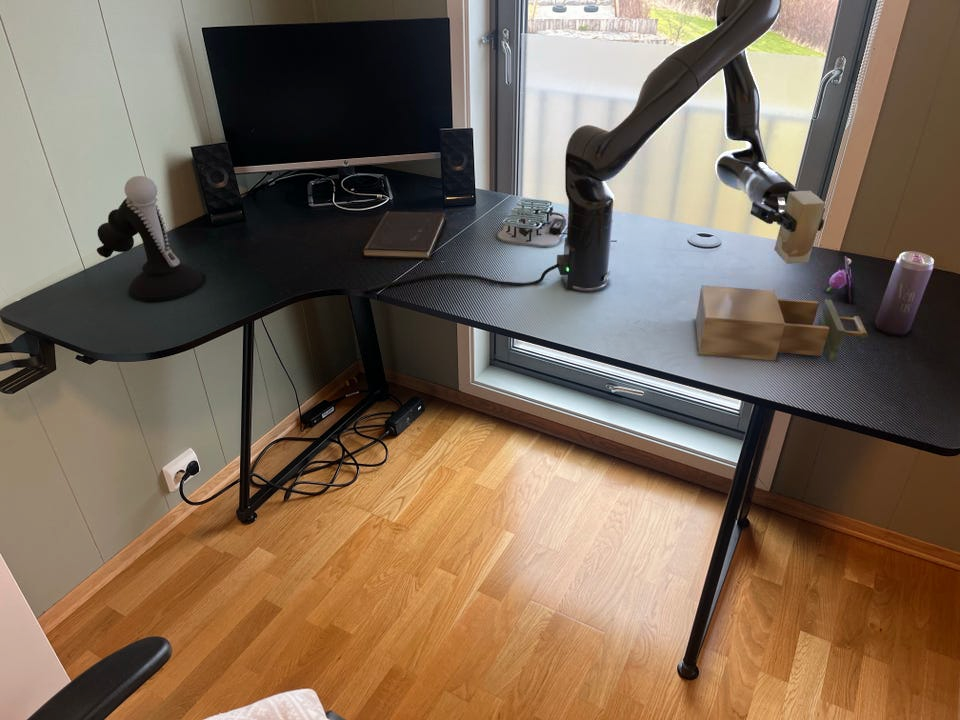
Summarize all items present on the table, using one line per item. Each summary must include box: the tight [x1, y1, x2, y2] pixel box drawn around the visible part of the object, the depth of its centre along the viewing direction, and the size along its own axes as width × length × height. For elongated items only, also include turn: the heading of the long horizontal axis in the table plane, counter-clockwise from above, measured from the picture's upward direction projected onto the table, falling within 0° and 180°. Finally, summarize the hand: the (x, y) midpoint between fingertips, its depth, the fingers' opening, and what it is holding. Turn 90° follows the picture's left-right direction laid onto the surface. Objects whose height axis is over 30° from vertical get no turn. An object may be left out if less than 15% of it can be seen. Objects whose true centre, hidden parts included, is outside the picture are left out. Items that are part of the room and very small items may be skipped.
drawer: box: [777, 297, 869, 361], centre depth 128 cm, size 17×11×6 cm, turn 79°
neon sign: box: [497, 198, 618, 248], centre depth 175 cm, size 21×4×29 cm
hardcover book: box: [362, 210, 446, 260], centre depth 174 cm, size 16×23×2 cm
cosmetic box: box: [773, 190, 826, 265], centre depth 131 cm, size 6×4×12 cm
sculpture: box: [96, 175, 204, 303], centre depth 151 cm, size 15×24×25 cm, turn 71°
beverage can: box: [874, 250, 935, 336], centre depth 131 cm, size 6×6×15 cm
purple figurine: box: [826, 255, 852, 304], centre depth 146 cm, size 7×5×9 cm
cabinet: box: [695, 284, 785, 362], centre depth 131 cm, size 13×12×8 cm
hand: (806, 226), depth 128 cm, fingers closed on cosmetic box, 4 cm apart
